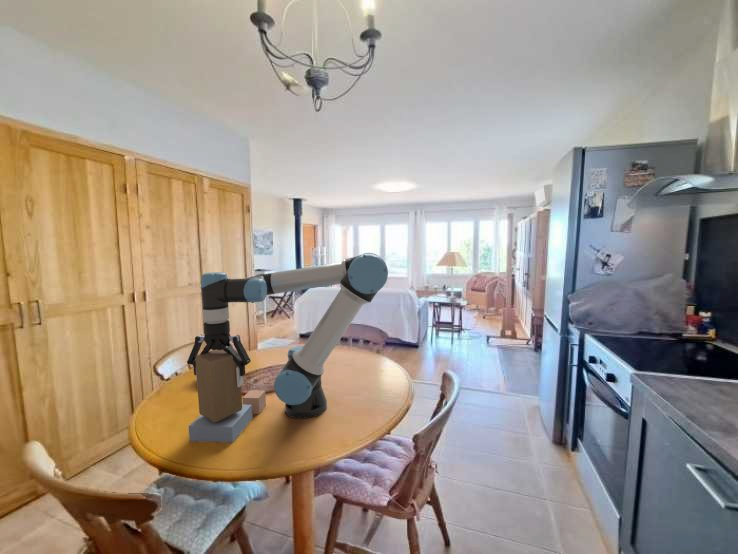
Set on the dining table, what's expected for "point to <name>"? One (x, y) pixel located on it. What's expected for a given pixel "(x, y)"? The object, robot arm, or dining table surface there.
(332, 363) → the dining table surface
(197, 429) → the plinth
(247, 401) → the terracotta cube
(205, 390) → the wooden block
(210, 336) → the robot arm
